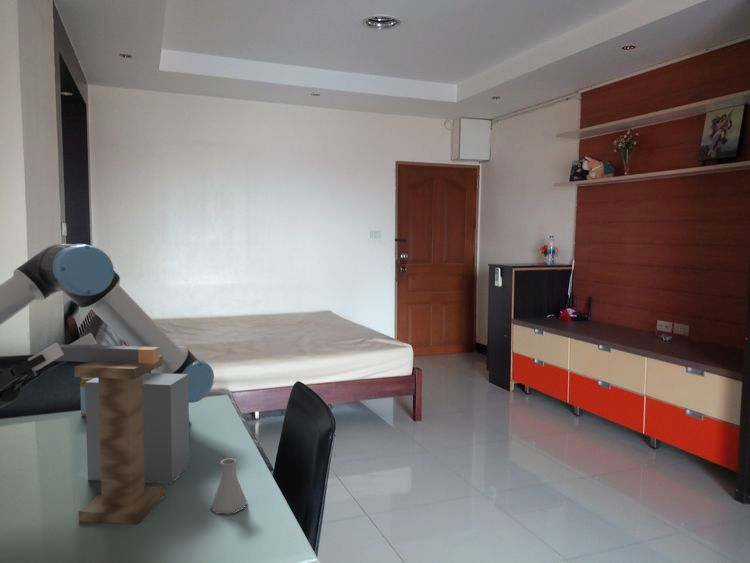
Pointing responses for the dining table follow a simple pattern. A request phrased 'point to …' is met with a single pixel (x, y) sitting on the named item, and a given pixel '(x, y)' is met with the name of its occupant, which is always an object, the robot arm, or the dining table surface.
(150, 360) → the grey long bar
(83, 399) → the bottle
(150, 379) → the block
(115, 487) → the stand
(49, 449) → the dining table surface
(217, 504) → the flask
